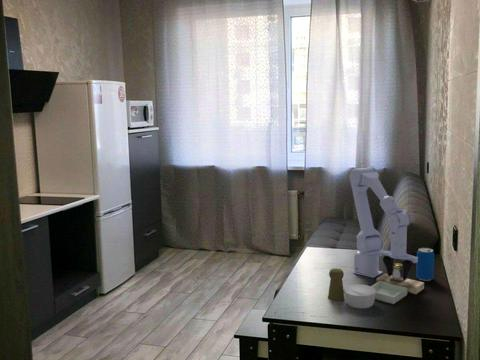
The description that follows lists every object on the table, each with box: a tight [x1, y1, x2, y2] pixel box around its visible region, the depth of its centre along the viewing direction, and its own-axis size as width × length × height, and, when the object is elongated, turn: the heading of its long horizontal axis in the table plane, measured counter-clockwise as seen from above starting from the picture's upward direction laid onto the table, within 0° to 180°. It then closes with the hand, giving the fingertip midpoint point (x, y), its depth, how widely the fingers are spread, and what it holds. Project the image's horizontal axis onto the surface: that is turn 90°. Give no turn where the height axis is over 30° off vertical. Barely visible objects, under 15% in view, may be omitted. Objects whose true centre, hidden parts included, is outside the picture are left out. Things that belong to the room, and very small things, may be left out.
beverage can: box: [415, 247, 435, 282], centre depth 205 cm, size 6×6×12 cm
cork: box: [327, 268, 346, 302], centre depth 188 cm, size 6×6×11 cm
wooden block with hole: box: [376, 273, 425, 295], centre depth 198 cm, size 16×7×2 cm, turn 48°
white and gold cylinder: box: [392, 262, 403, 283], centre depth 198 cm, size 4×4×8 cm
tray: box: [370, 281, 408, 305], centre depth 190 cm, size 11×11×3 cm
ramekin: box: [343, 283, 376, 309], centre depth 183 cm, size 11×11×5 cm
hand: (397, 277), depth 198 cm, fingers open, 5 cm apart
